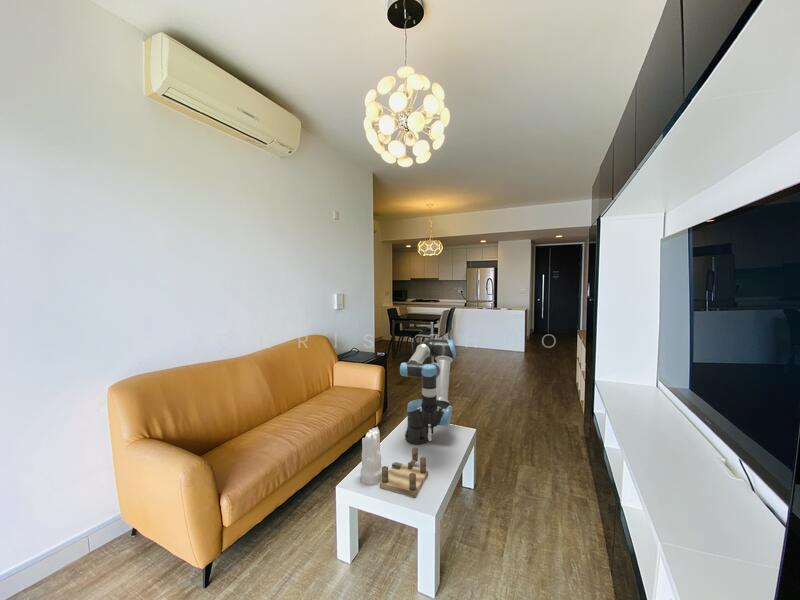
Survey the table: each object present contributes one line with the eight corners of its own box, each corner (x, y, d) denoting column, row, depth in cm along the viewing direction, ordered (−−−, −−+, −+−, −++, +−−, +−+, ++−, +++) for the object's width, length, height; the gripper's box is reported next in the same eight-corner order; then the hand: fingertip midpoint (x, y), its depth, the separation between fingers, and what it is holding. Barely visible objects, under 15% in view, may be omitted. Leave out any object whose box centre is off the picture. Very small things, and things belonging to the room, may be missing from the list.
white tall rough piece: (362, 486, 149) (361, 435, 148) (359, 473, 159) (358, 425, 158) (384, 482, 152) (383, 432, 150) (380, 469, 162) (379, 422, 161)
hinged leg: (413, 458, 167) (413, 447, 167) (418, 459, 166) (418, 448, 166) (406, 467, 159) (406, 456, 158) (412, 469, 158) (411, 457, 157)
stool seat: (395, 466, 165) (395, 450, 164) (428, 474, 157) (428, 457, 157) (379, 487, 148) (379, 469, 148) (415, 497, 141) (415, 478, 140)
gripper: (440, 392, 167) (441, 435, 168) (416, 392, 167) (416, 436, 168) (442, 397, 160) (443, 442, 161) (417, 397, 160) (417, 443, 161)
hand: (429, 439), depth 165 cm, fingers closed
